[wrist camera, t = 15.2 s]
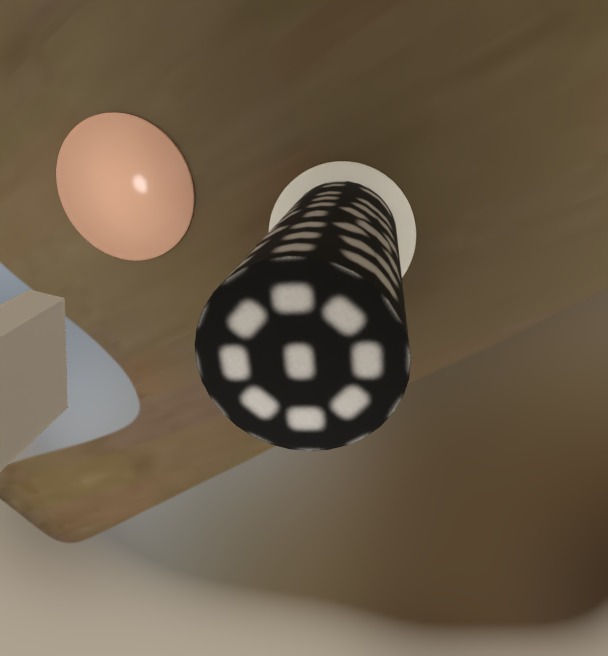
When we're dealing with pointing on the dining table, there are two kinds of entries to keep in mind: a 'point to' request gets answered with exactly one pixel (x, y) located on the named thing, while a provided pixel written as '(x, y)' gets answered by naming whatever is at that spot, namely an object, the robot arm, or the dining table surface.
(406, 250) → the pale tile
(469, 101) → the dining table surface
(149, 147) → the pink round disc
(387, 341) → the spotted tube
